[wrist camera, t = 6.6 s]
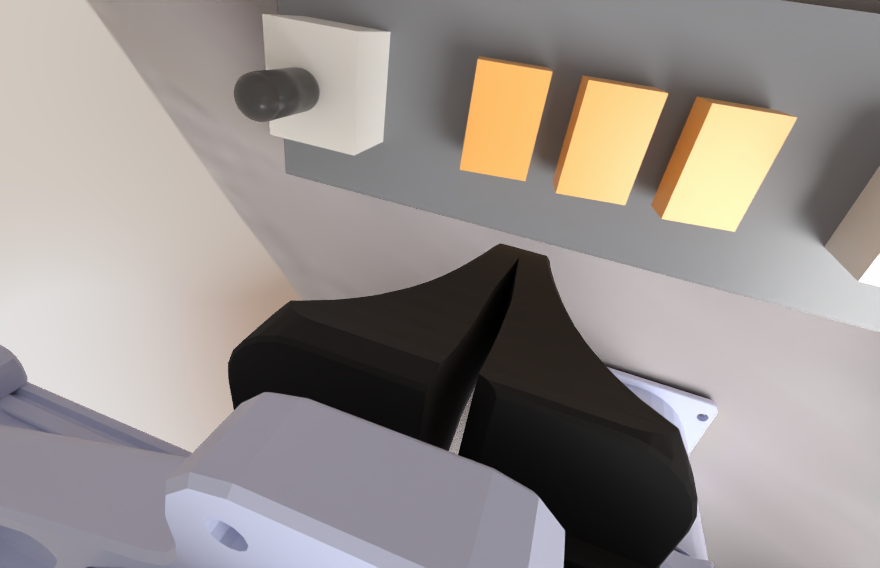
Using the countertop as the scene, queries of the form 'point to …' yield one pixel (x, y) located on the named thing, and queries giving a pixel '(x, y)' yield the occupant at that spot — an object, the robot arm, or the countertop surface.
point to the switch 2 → (720, 162)
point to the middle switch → (607, 139)
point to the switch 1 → (504, 117)
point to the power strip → (684, 78)
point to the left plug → (319, 83)
